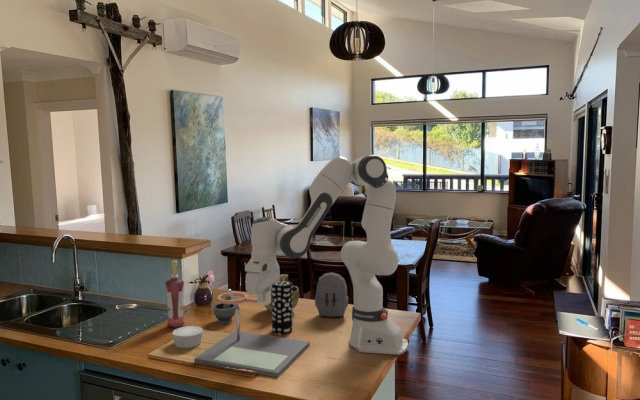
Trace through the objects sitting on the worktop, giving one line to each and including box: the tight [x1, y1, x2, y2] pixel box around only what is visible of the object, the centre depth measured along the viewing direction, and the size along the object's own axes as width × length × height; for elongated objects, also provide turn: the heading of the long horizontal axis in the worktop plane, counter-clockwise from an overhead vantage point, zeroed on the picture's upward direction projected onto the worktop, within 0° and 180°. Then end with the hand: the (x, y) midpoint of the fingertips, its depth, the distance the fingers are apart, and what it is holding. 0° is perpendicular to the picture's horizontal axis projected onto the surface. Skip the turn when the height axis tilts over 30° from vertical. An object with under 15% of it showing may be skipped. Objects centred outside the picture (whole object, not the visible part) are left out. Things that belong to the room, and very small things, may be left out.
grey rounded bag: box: [314, 272, 349, 318], centre depth 215 cm, size 15×8×20 cm, turn 81°
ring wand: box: [217, 290, 271, 306], centre depth 178 cm, size 20×11×4 cm, turn 70°
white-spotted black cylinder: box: [271, 280, 293, 336], centre depth 197 cm, size 8×8×20 cm
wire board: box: [194, 330, 311, 378], centre depth 176 cm, size 32×28×2 cm
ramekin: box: [172, 325, 204, 349], centre depth 184 cm, size 11×11×5 cm
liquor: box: [165, 259, 185, 329], centre depth 202 cm, size 7×7×28 cm
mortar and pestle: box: [212, 291, 237, 325], centre depth 209 cm, size 11×9×12 cm
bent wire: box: [227, 288, 241, 341], centre depth 181 cm, size 1×8×22 cm, turn 159°
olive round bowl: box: [263, 273, 300, 313], centre depth 222 cm, size 22×17×15 cm
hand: (264, 299), depth 175 cm, fingers closed on ring wand, 3 cm apart
